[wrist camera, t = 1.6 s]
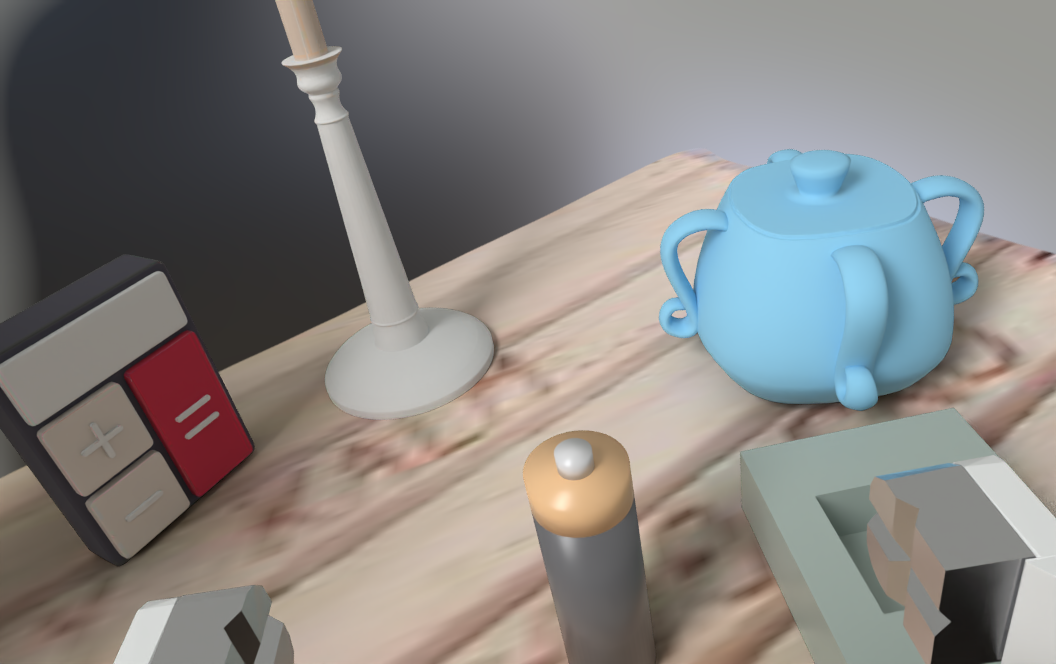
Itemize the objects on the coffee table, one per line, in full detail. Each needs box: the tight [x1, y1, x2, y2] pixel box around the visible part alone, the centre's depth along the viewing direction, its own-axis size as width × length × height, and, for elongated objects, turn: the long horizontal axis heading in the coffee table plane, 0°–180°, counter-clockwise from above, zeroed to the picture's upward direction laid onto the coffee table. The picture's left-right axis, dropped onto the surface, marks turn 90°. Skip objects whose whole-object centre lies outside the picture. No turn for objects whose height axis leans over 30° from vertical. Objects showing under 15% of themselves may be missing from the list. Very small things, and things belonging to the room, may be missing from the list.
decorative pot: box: [659, 149, 984, 411], centre depth 47 cm, size 16×16×14 cm
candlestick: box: [275, 0, 494, 420], centre depth 50 cm, size 13×13×30 cm
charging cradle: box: [740, 408, 1001, 664], centre depth 34 cm, size 11×14×4 cm
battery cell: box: [523, 431, 656, 664], centre depth 32 cm, size 4×4×13 cm
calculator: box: [0, 255, 255, 566], centre depth 45 cm, size 11×4×15 cm, turn 148°
